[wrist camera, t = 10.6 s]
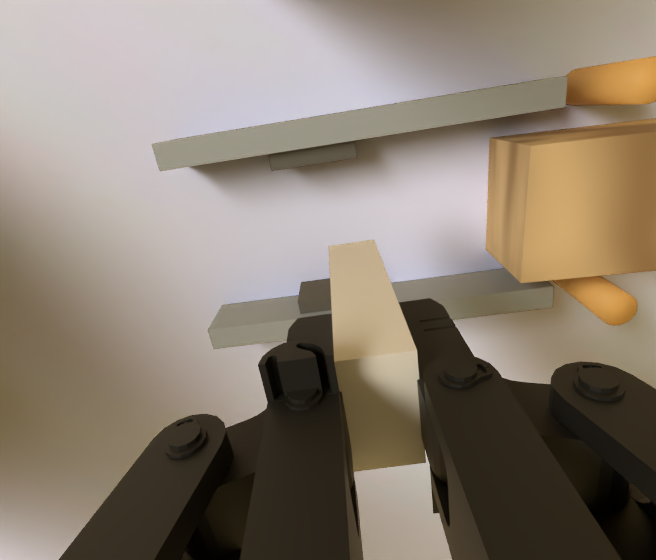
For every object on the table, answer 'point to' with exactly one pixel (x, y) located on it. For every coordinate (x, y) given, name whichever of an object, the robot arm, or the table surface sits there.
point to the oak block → (573, 201)
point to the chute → (345, 127)
